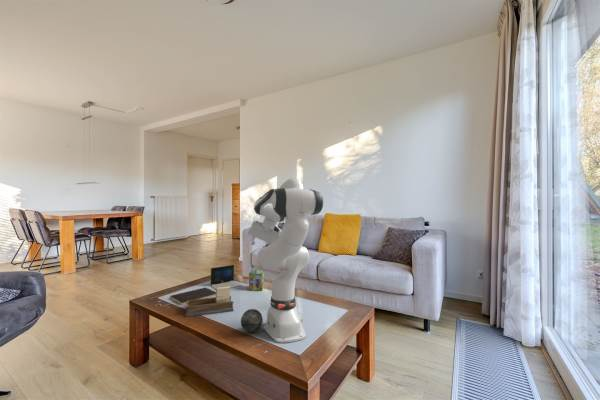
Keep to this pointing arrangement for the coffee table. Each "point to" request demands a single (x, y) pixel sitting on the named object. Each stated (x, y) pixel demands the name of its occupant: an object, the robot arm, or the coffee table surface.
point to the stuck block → (222, 293)
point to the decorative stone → (251, 320)
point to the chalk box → (256, 280)
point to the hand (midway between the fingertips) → (259, 248)
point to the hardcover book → (193, 295)
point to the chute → (207, 307)
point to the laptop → (223, 276)
